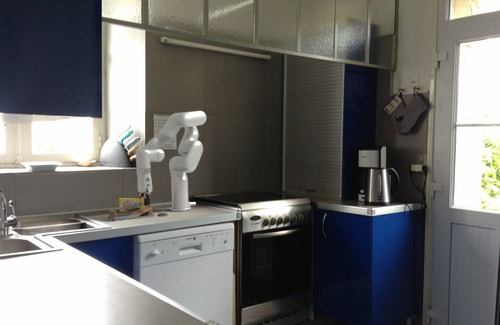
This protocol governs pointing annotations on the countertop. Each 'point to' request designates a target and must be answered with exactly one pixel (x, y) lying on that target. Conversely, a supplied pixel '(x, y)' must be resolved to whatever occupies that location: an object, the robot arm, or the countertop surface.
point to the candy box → (129, 204)
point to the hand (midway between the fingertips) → (145, 204)
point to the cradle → (162, 214)
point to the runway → (126, 216)
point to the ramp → (144, 210)
